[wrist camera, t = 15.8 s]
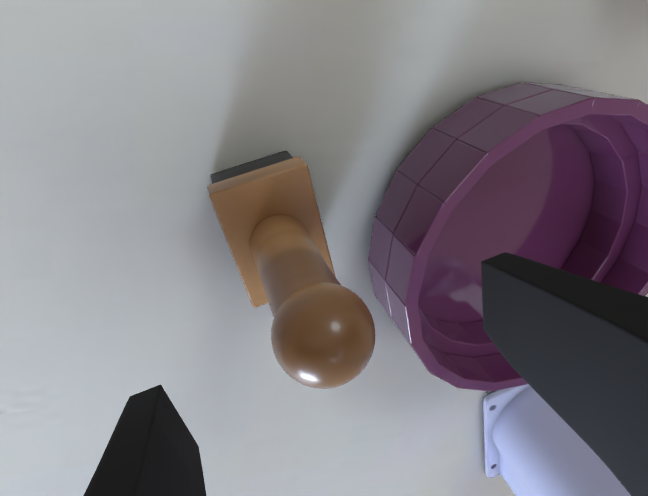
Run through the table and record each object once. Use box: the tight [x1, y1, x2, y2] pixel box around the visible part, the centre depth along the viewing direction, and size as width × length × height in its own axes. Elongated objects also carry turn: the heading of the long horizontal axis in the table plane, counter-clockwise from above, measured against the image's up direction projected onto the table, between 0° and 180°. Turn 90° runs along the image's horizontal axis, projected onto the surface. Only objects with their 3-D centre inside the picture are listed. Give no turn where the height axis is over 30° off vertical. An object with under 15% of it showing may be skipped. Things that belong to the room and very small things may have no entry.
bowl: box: [368, 82, 648, 391], centre depth 21 cm, size 14×14×4 cm
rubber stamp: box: [207, 151, 375, 389], centre depth 15 cm, size 5×4×10 cm
